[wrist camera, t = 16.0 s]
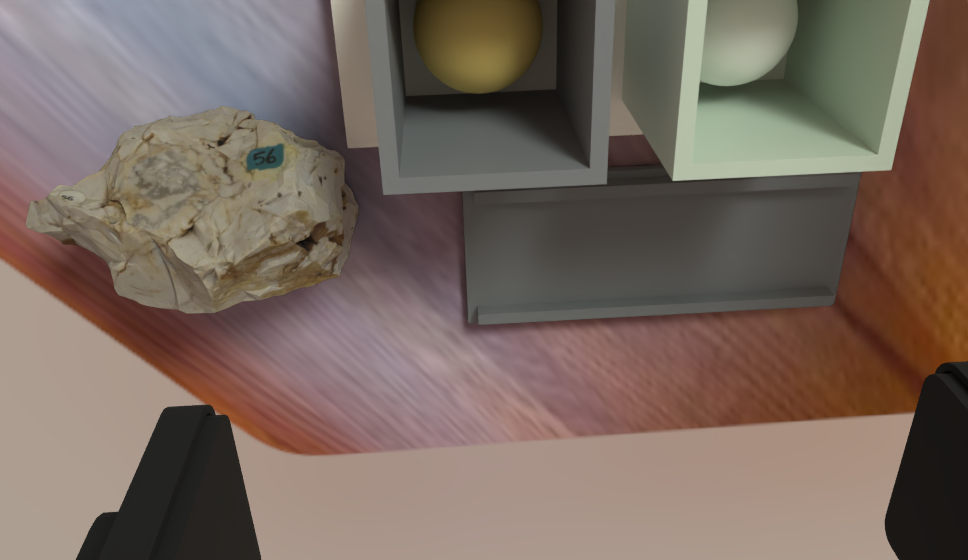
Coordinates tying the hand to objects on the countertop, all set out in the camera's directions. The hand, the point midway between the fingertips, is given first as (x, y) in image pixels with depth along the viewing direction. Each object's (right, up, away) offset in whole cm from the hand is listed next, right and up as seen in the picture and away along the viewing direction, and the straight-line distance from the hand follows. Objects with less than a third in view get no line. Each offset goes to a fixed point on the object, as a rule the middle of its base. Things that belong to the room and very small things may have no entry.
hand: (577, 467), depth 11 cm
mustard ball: (-2, +13, +23) cm, 27 cm away
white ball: (+8, +14, +24) cm, 29 cm away
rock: (-13, +8, +28) cm, 32 cm away
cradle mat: (+7, +5, +31) cm, 32 cm away
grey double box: (+3, +14, +25) cm, 29 cm away
